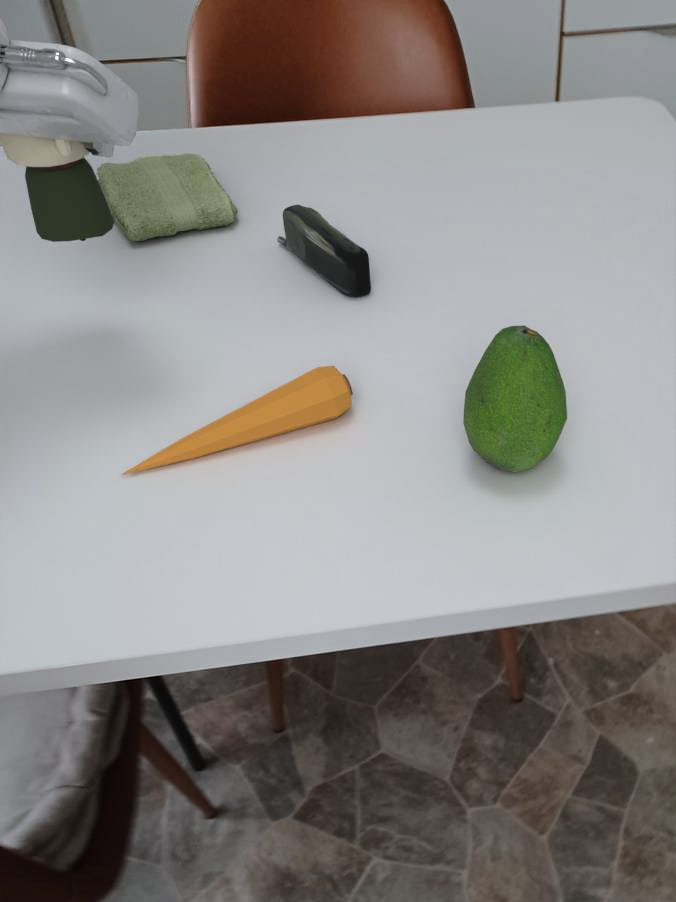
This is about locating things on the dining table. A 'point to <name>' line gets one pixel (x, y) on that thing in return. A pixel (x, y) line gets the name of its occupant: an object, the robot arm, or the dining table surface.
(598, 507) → the dining table surface
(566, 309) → the dining table surface
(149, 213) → the washcloth
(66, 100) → the robot arm
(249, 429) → the carrot
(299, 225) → the black stapler
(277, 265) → the dining table surface
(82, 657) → the dining table surface
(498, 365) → the avocado
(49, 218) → the character mug
